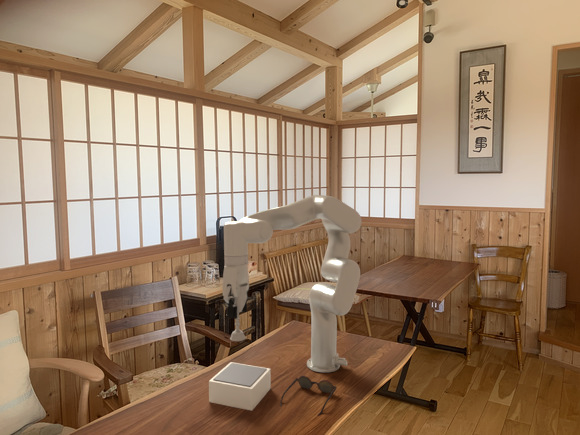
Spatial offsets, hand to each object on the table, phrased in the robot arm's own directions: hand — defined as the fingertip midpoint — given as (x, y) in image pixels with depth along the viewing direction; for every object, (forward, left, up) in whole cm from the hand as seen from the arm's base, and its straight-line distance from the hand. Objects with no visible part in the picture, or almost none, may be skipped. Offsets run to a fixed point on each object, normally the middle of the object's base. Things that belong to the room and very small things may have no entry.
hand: (237, 314), depth 144 cm
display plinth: (-1, 0, -27) cm, 27 cm away
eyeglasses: (-23, -4, -28) cm, 36 cm away
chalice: (0, 0, -8) cm, 8 cm away
